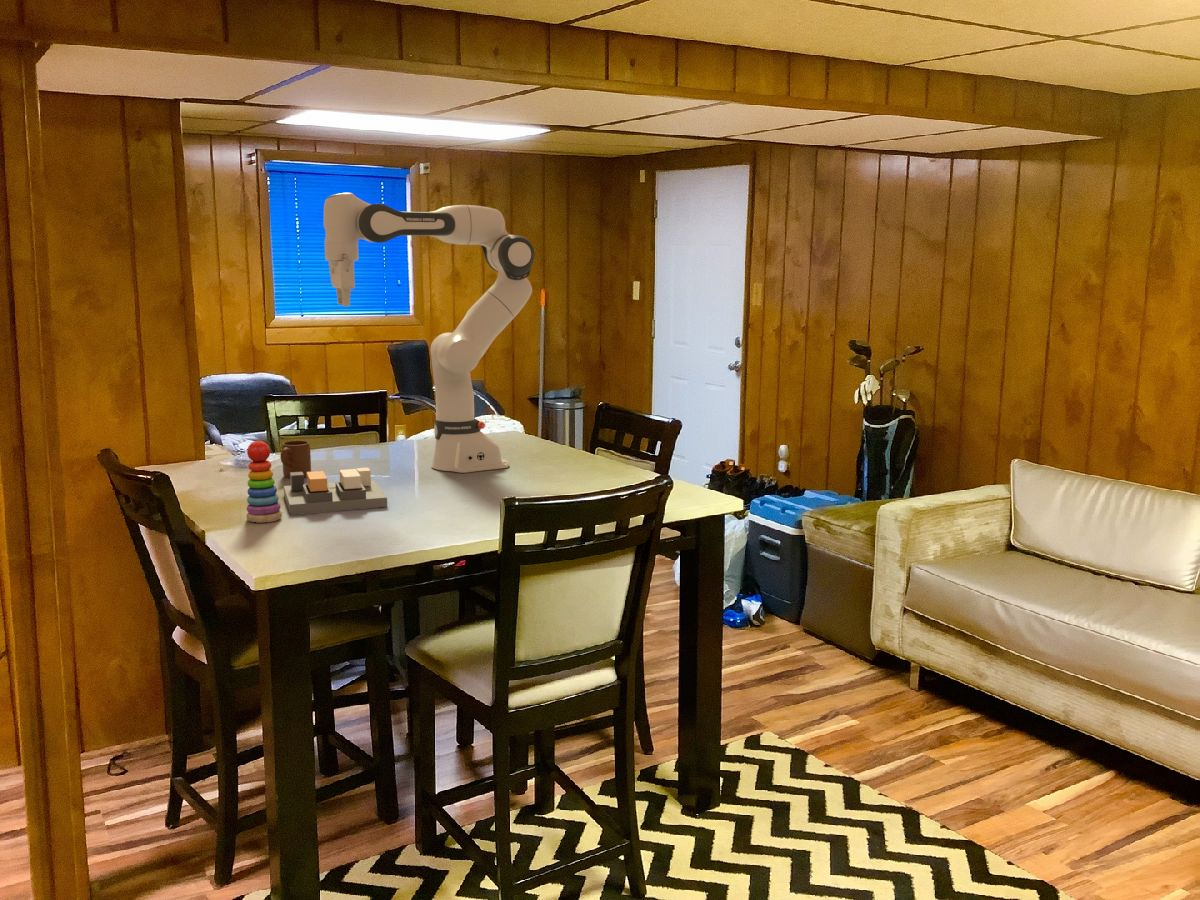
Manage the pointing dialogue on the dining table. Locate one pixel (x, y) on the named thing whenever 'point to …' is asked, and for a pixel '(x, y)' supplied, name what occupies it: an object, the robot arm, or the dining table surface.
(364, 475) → the slider
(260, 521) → the stacking toy
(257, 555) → the dining table surface
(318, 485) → the button
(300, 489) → the slider
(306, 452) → the mug
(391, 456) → the dining table surface
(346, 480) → the button
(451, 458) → the robot arm
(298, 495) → the grey base platform
